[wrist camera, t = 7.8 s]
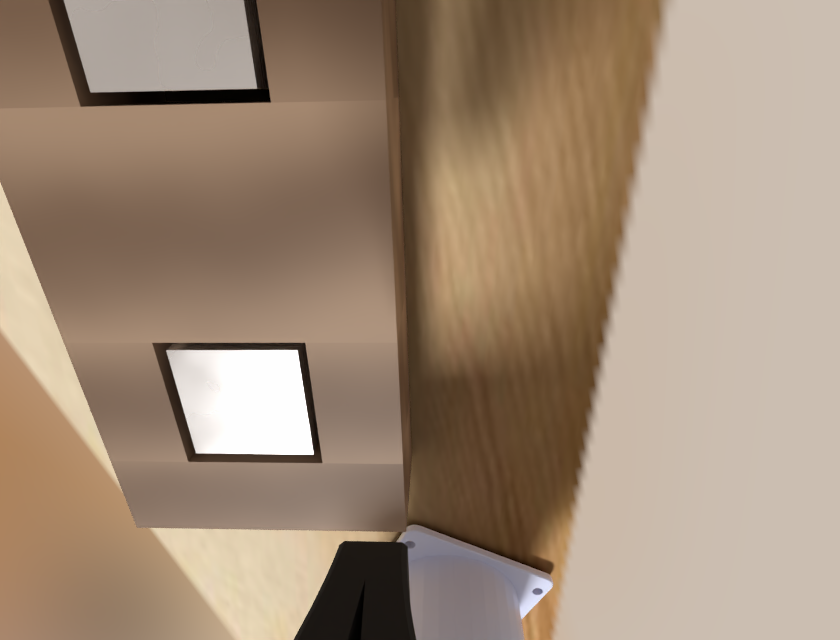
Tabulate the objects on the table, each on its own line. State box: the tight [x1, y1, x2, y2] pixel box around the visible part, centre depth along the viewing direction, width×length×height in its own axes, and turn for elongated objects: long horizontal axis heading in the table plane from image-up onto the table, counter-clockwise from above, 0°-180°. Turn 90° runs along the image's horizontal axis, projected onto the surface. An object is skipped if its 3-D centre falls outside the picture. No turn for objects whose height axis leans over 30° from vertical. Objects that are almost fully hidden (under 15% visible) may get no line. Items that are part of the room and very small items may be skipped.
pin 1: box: [64, 0, 269, 92], centre depth 12 cm, size 4×4×4 cm
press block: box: [0, 0, 412, 532], centre depth 14 cm, size 22×10×4 cm, turn 1°
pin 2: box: [166, 343, 319, 454], centre depth 17 cm, size 4×4×4 cm
